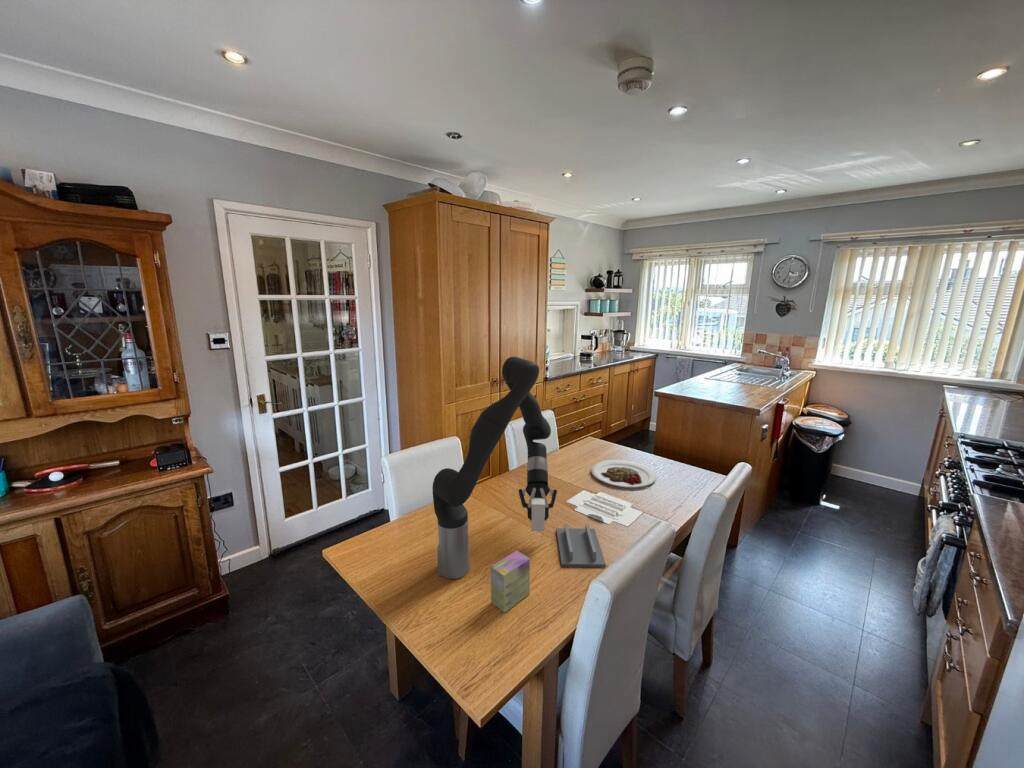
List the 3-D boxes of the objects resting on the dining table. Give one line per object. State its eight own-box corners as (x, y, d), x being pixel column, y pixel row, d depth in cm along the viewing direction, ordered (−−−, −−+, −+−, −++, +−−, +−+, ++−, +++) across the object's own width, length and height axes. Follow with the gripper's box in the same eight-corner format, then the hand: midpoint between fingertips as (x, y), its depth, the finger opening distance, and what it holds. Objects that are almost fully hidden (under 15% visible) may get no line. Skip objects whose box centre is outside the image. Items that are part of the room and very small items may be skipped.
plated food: (605, 458, 214) (606, 452, 213) (663, 472, 197) (664, 466, 196) (580, 479, 190) (580, 472, 189) (643, 497, 173) (644, 490, 172)
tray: (587, 489, 181) (588, 481, 180) (647, 513, 163) (648, 505, 162) (561, 506, 166) (561, 498, 165) (623, 535, 148) (624, 526, 147)
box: (516, 584, 121) (516, 549, 118) (530, 594, 117) (530, 558, 114) (490, 602, 114) (489, 566, 111) (504, 613, 110) (503, 576, 107)
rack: (561, 566, 129) (561, 555, 128) (556, 530, 148) (556, 520, 147) (605, 567, 128) (606, 556, 127) (594, 531, 148) (594, 521, 147)
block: (531, 531, 137) (531, 504, 135) (530, 523, 141) (531, 497, 139) (544, 531, 137) (545, 504, 135) (543, 524, 141) (544, 498, 139)
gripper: (517, 467, 142) (517, 516, 133) (558, 468, 142) (560, 517, 133) (517, 475, 149) (517, 522, 140) (556, 475, 149) (558, 523, 139)
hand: (538, 519), depth 136 cm, fingers closed on block, 4 cm apart
